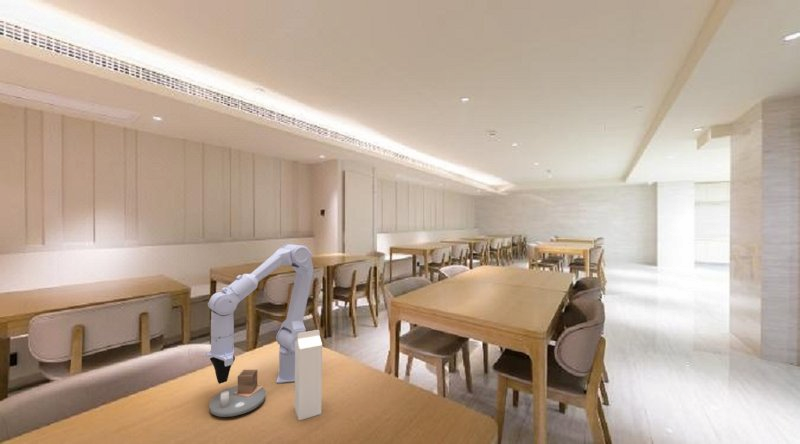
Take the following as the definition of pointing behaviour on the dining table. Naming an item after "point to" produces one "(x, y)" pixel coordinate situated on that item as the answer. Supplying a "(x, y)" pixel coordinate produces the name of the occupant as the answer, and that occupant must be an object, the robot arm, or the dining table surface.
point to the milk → (308, 374)
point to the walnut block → (247, 381)
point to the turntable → (235, 401)
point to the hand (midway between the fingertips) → (222, 381)
